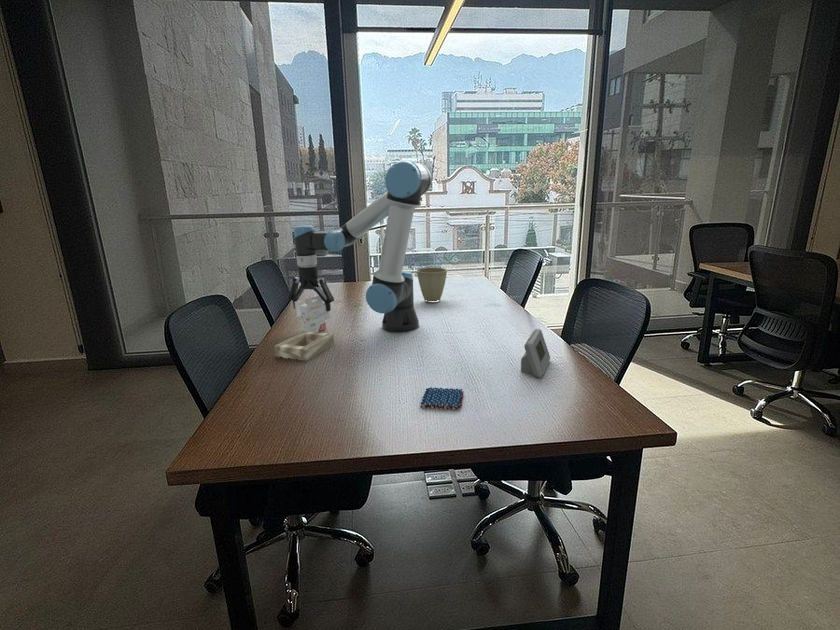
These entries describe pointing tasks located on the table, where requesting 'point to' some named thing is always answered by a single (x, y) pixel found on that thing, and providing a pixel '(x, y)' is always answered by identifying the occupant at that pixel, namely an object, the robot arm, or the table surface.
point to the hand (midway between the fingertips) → (312, 317)
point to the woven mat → (442, 398)
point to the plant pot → (432, 282)
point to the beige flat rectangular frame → (296, 349)
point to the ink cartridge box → (313, 315)
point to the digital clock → (535, 354)
